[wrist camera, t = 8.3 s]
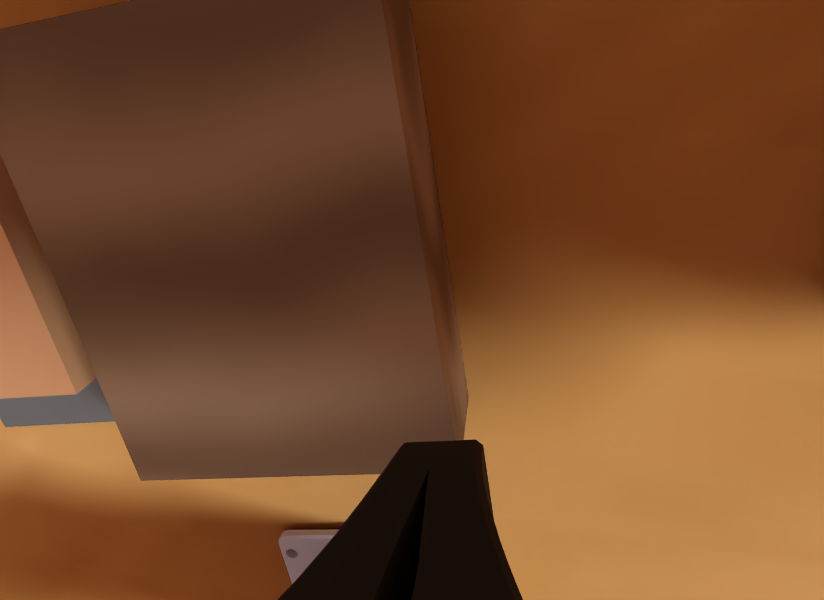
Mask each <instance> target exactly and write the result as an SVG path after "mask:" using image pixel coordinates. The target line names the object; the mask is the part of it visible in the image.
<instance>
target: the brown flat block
mask: <svg viewBox="0 0 824 600" xmlns="http://www.w3.org/2000/svg"><path fill="white" fill-rule="evenodd" d="M0 154H1V156H2V159H3V161H4V163H5V166H6V168H7V170H8V173H9V175H10V177H11V179H12V182H13V184H14V186H15V189H16V191H17V193H18V196H19V198H20V200H21V203H22V205H23V207H24V210H25V212H26V214H27V217H28V219H29V221H30V224H31V226H32V228H33V231H34V233H35V235H36V238H37V240H38V242H39V245H40V247H41V249H42V252H43V254H44V256H45V259H46V261H47V263H48V266H49V268H50V270H51V273H52V275H53V277H54V279H55V282H56V284H57V286H58V289H59V291H60V293H61V296H62V298H63V300H64V303H65V305H66V307H67V310H68V312H69V314H70V317H71V319H72V321H73V324H74V326H75V328H76V331H77V333H78V335H79V338H80V340H81V342H82V345H83V347H84V349H85V352H86V354H87V356H88V359H89V361H90V363H91V366H92V368H93V370H94V373H95V375H96V377H97V380H98V382H99V384H100V386H101V389H102V391H103V393H104V396H105V398H106V400H107V403H108V405H109V407H110V410H111V412H112V414H113V417H114V419H115V421H116V424H117V426H118V428H119V431H120V433H121V435H122V438H123V440H124V442H125V445H126V447H127V449H128V452H129V454H130V456H131V459H132V461H133V463H134V466H135V468H136V470H137V473H138V475H139V477H140V480H141V481H145V480H181V479H216V478H252V477H288V476H323V475H359V474H381V473H382V472H383V471H384V469H385V468H386V466H387V465H388V463H389V462H390V461H391V459H392V458H393V456H394V455H395V454H396V452H397V451H398V449H399V448H400V447H401V446H402V445H403V444H404V443H405V442H428V441H454V440H463V439H464V431H465V422H466V414H467V406H468V392H467V385H466V379H465V372H464V365H463V358H462V352H461V345H460V338H459V332H458V325H457V318H456V312H455V305H454V298H453V292H452V285H451V278H450V272H449V265H448V258H447V252H446V245H445V238H444V232H443V225H442V218H441V211H440V205H439V198H438V191H437V185H436V178H435V171H434V165H433V158H432V151H431V145H430V138H429V131H428V125H427V118H426V111H425V105H424V98H423V91H422V84H421V78H420V71H419V64H418V58H417V51H416V44H415V38H414V31H413V24H412V18H411V11H410V4H409V0H131V1H127V2H122V3H118V4H113V5H108V6H104V7H99V8H95V9H90V10H86V11H81V12H76V13H72V14H67V15H63V16H58V17H54V18H49V19H44V20H40V21H35V22H31V23H26V24H22V25H17V26H12V27H8V28H3V29H0Z"/></svg>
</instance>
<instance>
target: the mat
mask: <svg viewBox="0 0 824 600" xmlns="http://www.w3.org/2000/svg"><path fill="white" fill-rule="evenodd" d="M0 418H1V420H2V422H3V424H4V426H5V427H13V426H32V425H51V424H71V423H90V422H109V421H115V419H114V417H113V414H112V412H111V410H110V407H109V405H108V403H107V400H106V398H105V396H104V393H103V391H102V389H101V386H100V384H99V382H98V380H97V378H96V379H94V380H93V381H92V382H91V383H90V384H88V385H87V386H86V387H85V388H84V389H82V390H81V391H80V392H79V393H78V394H72V395H56V396H39V397H22V398H5V399H0Z"/></svg>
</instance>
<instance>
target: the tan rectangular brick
mask: <svg viewBox="0 0 824 600" xmlns="http://www.w3.org/2000/svg"><path fill="white" fill-rule="evenodd" d="M96 378H97V377H96V375H95V373H94V370H93V368H92V366H91V363H90V361H89V359H88V356H87V354H86V352H85V349H84V347H83V345H82V342H81V340H80V338H79V335H78V333H77V331H76V328H75V326H74V324H73V321H72V319H71V317H70V314H69V312H68V310H67V307H66V305H65V303H64V300H63V298H62V296H61V293H60V291H59V289H58V286H57V284H56V282H55V279H54V277H53V275H52V273H51V270H50V268H49V266H48V263H47V261H46V259H45V256H44V254H43V252H42V249H41V247H40V245H39V242H38V240H37V238H36V235H35V233H34V231H33V228H32V226H31V224H30V221H29V219H28V217H27V214H26V212H25V210H24V207H23V205H22V203H21V200H20V198H19V196H18V193H17V191H16V189H15V186H14V184H13V182H12V179H11V177H10V175H9V173H8V170H7V168H6V166H5V163H4V161H3V159H2V156H1V154H0V399H5V398H22V397H39V396H56V395H72V394H78V393H79V392H80V391H81V390H82V389H84V388H85V387H86V386H87V385H88V384H90V383H91V382H92V381H93V380H94V379H96Z"/></svg>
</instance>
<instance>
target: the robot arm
mask: <svg viewBox="0 0 824 600" xmlns="http://www.w3.org/2000/svg"><path fill="white" fill-rule="evenodd" d="M278 543H279V547H280V550H281V553H282V556H283V559H284V562H285V565H286V568H287V571H288V574H289V577H290V580H291V583H292V585H291V586H290V587H289V588H288V589H287V590H286V591H285V592H284V593H283V595H282V596H281V597H280V598H279V599H278V600H523V599H522V596H521V594H520V592H519V589H518V587H517V584H516V582H515V579H514V577H513V574H512V572H511V569H510V566H509V564H508V561H507V559H506V556H505V553H504V550H503V548H502V545H501V542H500V539H499V536H498V532H497V529H496V526H495V523H494V518H493V511H492V504H491V497H490V490H489V483H488V476H487V469H486V462H485V455H484V448H483V445H482V444H481V443H479V442H478V441H477V440H454V441H428V442H405V443H404V444H403V445H402V446H401V447H400V448H399V449H398V451H397V452H396V454H395V455H394V456H393V458H392V459H391V461H390V462H389V463H388V465H387V466H386V468H385V469H384V471H383V472H382V473H381V475H380V476H379V478H378V479H377V480H376V482H375V483H374V484H373V486H372V487H371V488H370V490H369V491H368V493H367V494H366V495H365V497H364V498H363V499H362V501H361V502H360V503H359V505H358V506H357V507H356V508H355V510H354V511H353V512H352V514H351V515H350V516H349V517H348V519H347V520H346V521H345V523H344V524H343V525H342V526H341V528H340V529H329V530H285V531H284V532H282V534H281V536H280V538H279V540H278ZM292 549H293V550H292ZM294 550H295V551H294Z"/></svg>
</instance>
